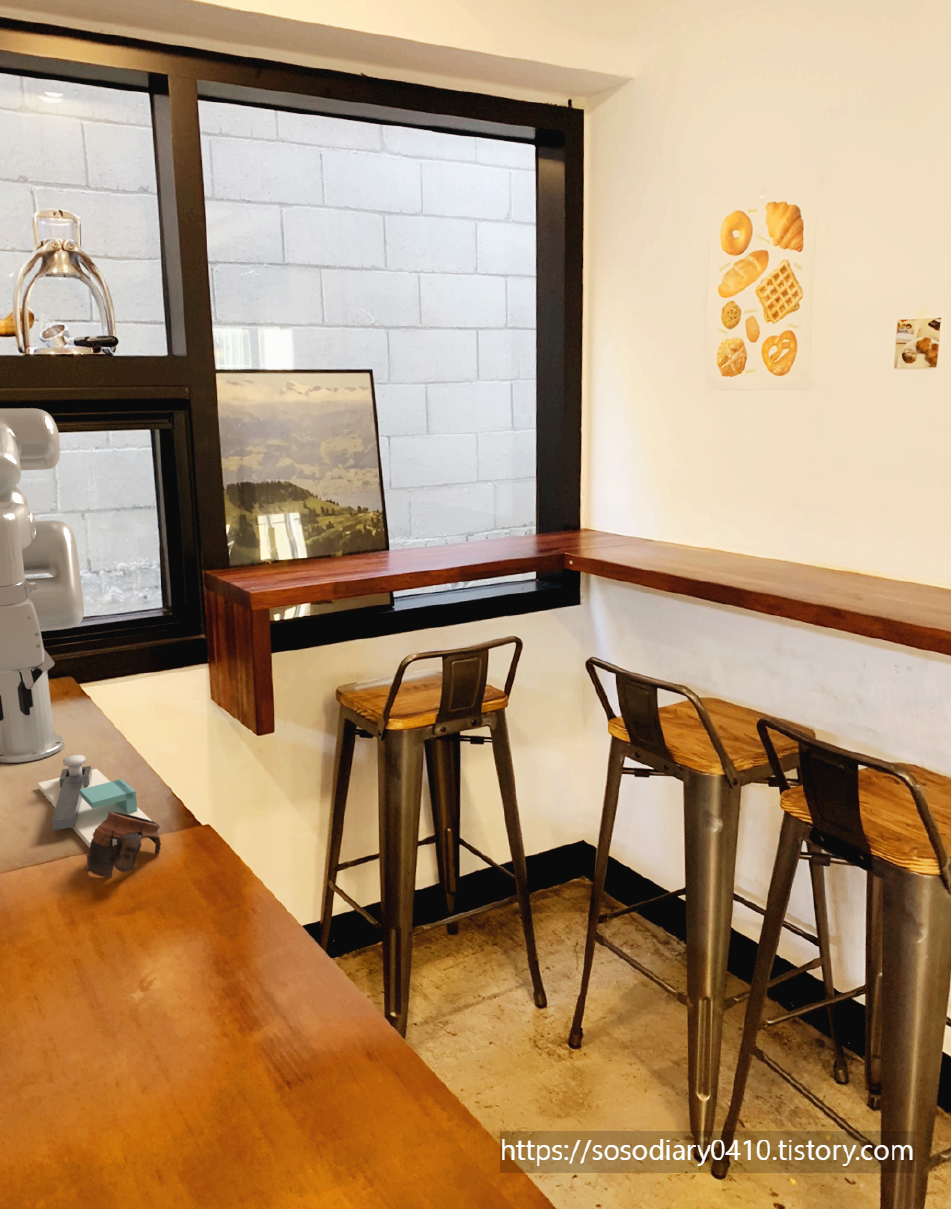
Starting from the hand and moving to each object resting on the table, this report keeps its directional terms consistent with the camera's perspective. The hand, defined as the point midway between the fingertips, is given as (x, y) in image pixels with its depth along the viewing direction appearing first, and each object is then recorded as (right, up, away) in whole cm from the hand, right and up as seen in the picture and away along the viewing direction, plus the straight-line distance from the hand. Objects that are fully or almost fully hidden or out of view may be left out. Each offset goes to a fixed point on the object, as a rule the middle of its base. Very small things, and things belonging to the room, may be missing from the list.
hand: (12, 714), depth 141 cm
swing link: (+5, -14, +8) cm, 17 cm away
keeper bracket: (+13, -15, +5) cm, 21 cm away
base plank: (+9, -16, +8) cm, 20 cm away
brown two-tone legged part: (+20, -20, -9) cm, 30 cm away
